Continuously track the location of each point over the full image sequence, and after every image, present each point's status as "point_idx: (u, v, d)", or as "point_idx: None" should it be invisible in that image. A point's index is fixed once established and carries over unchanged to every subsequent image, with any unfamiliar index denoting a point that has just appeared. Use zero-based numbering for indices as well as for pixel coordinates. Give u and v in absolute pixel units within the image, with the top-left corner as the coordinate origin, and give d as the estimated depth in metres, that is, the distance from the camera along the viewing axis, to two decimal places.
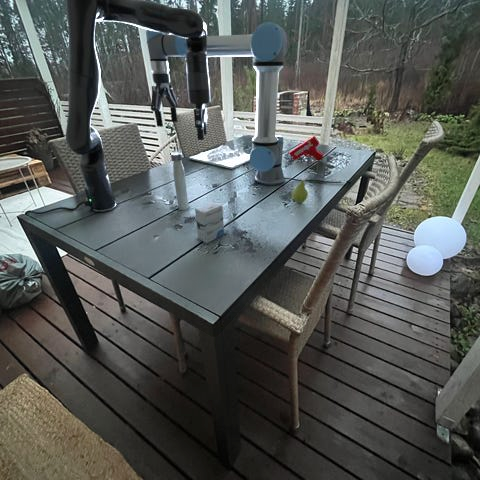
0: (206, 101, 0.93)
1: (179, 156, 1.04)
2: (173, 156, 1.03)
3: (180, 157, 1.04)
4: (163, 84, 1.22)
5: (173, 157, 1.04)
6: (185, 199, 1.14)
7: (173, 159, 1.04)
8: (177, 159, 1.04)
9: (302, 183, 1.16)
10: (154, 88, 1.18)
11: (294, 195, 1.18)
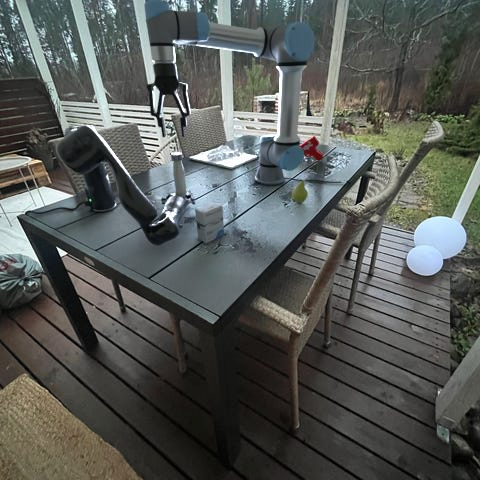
0: None
1: (179, 156, 1.04)
2: (173, 156, 1.03)
3: (180, 157, 1.04)
4: (163, 78, 0.90)
5: (173, 157, 1.04)
6: None
7: (173, 159, 1.04)
8: (177, 159, 1.04)
9: (302, 183, 1.16)
10: None
11: (294, 195, 1.18)
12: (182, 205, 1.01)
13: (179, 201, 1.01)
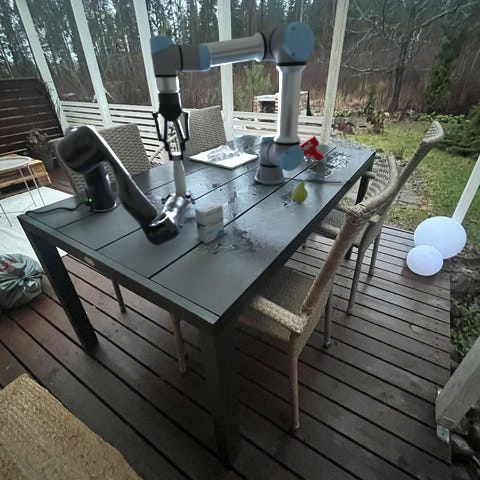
0: None
1: (179, 156, 1.04)
2: (173, 156, 1.03)
3: (180, 157, 1.04)
4: (167, 106, 0.95)
5: (173, 157, 1.04)
6: None
7: (173, 159, 1.04)
8: (177, 159, 1.04)
9: (302, 183, 1.16)
10: None
11: (294, 195, 1.18)
12: (182, 205, 1.01)
13: (179, 201, 1.01)
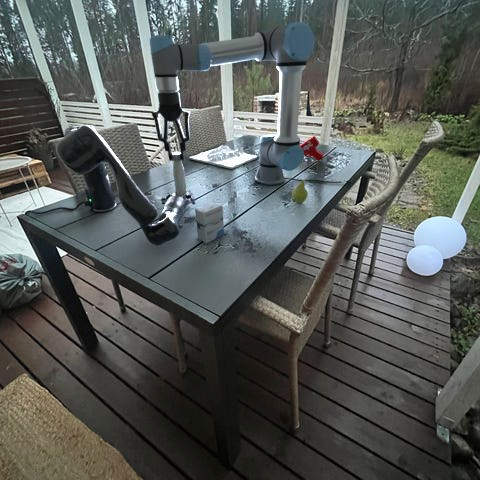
0: None
1: None
2: (180, 155, 1.04)
3: None
4: (167, 106, 0.95)
5: (180, 156, 1.04)
6: None
7: (181, 158, 1.05)
8: None
9: (302, 183, 1.16)
10: None
11: (294, 195, 1.18)
12: (182, 205, 1.01)
13: (179, 201, 1.01)
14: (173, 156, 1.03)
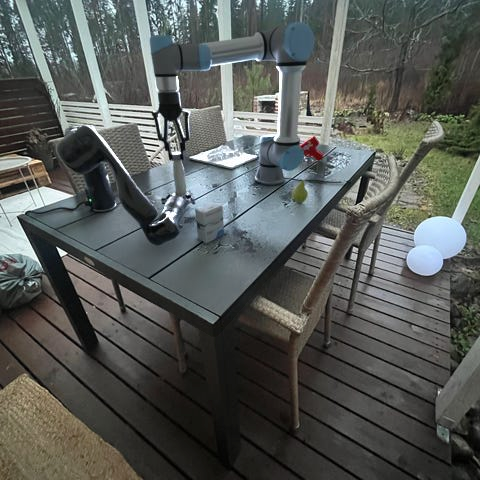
0: None
1: None
2: None
3: None
4: (167, 106, 0.95)
5: None
6: None
7: None
8: None
9: (302, 183, 1.16)
10: None
11: (294, 195, 1.18)
12: (182, 205, 1.01)
13: (179, 201, 1.01)
14: (180, 155, 1.04)
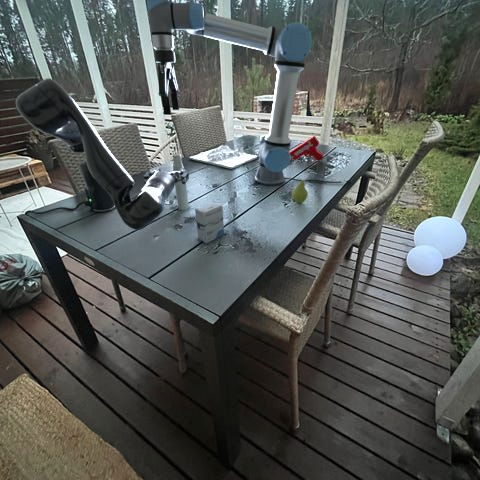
0: None
1: None
2: None
3: None
4: (168, 64, 1.03)
5: None
6: (185, 199, 1.14)
7: None
8: None
9: (302, 183, 1.16)
10: (161, 68, 0.99)
11: (294, 195, 1.18)
12: (169, 182, 0.83)
13: (166, 176, 0.83)
14: None
